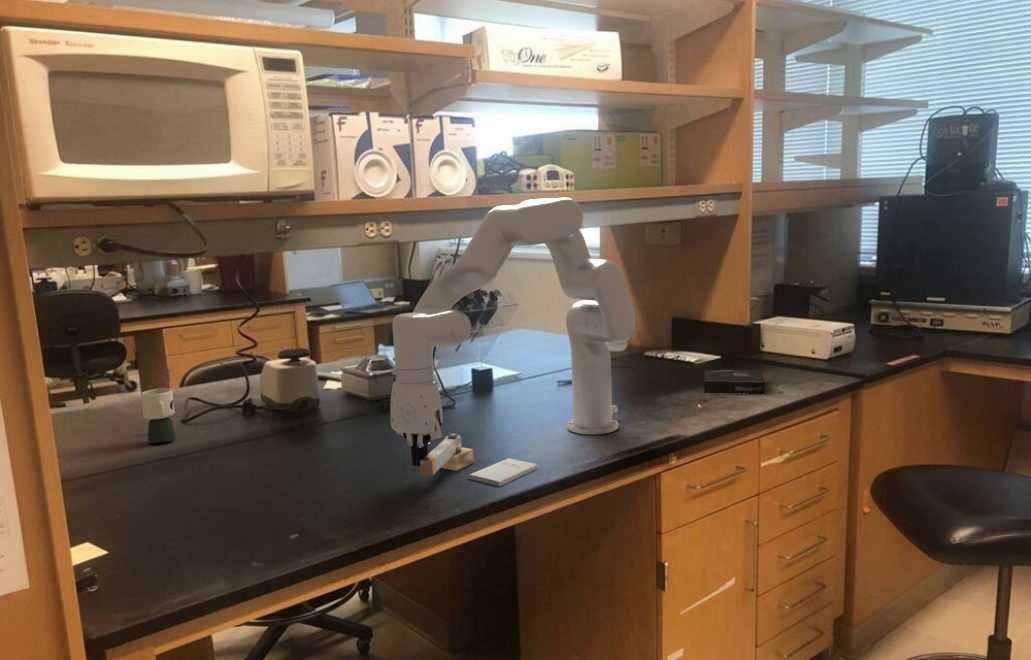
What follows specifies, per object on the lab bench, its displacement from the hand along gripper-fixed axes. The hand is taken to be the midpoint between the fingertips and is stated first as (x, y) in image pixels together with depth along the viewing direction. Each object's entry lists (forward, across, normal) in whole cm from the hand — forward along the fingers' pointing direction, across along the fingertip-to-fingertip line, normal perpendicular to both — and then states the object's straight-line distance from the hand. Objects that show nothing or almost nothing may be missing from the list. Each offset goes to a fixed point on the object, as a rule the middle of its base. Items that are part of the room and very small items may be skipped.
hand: (420, 464), depth 154 cm
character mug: (+4, -78, -3) cm, 78 cm away
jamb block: (+4, 0, +12) cm, 12 cm away
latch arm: (0, +2, +5) cm, 5 cm away
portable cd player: (+4, +38, +102) cm, 109 cm away
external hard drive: (+4, +13, +11) cm, 17 cm away
